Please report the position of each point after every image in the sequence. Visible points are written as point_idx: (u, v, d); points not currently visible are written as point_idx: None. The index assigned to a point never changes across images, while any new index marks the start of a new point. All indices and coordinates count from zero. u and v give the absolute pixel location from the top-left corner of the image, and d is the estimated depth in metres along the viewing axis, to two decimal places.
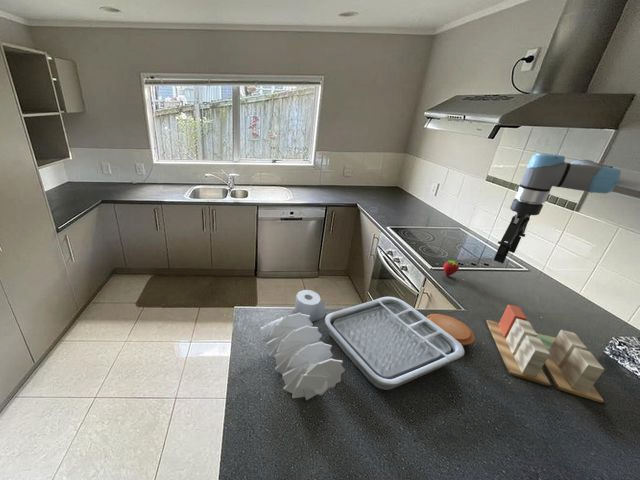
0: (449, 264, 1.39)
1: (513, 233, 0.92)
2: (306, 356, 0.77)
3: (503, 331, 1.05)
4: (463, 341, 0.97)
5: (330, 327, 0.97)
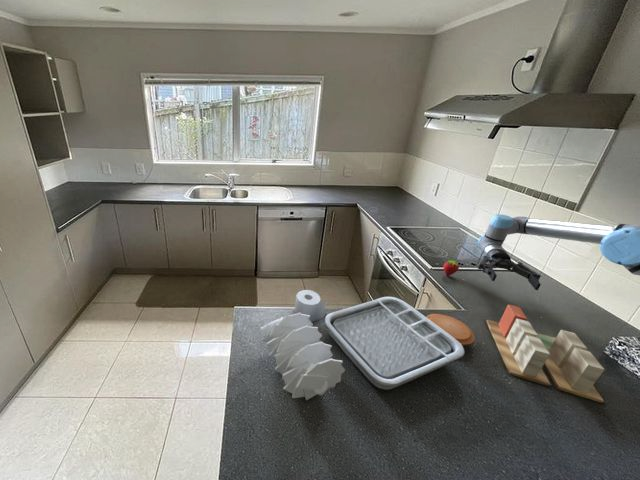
0: (449, 264, 1.39)
1: (481, 260, 1.20)
2: (306, 356, 0.77)
3: (503, 331, 1.05)
4: (463, 341, 0.97)
5: (330, 327, 0.97)
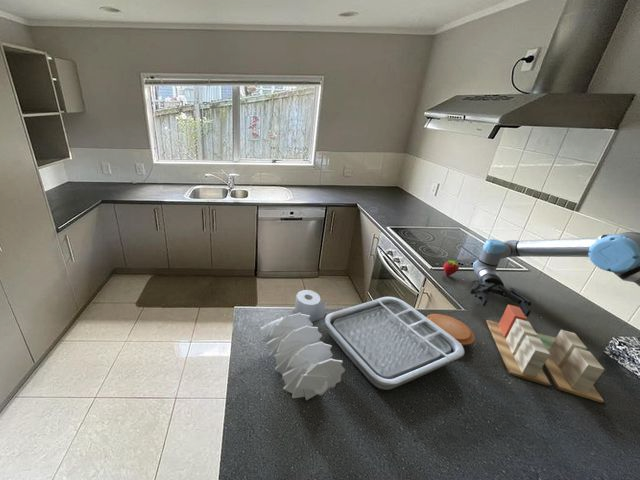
0: (449, 264, 1.39)
1: (474, 285, 1.22)
2: (306, 356, 0.77)
3: (503, 331, 1.05)
4: (463, 341, 0.97)
5: (330, 327, 0.97)
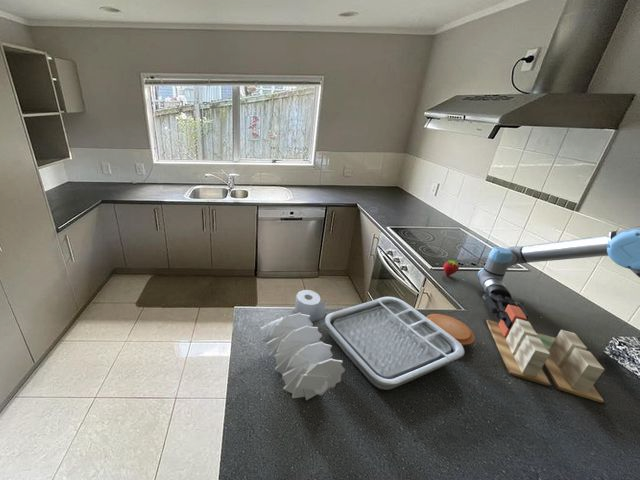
0: (449, 264, 1.39)
1: (489, 302, 1.11)
2: (306, 356, 0.77)
3: (503, 331, 1.05)
4: (463, 341, 0.97)
5: (330, 327, 0.97)
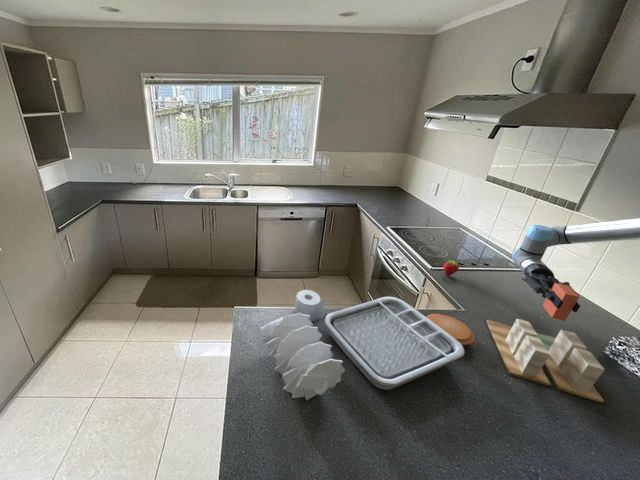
0: (449, 264, 1.39)
1: (532, 281, 1.03)
2: (306, 356, 0.77)
3: (550, 312, 0.96)
4: (463, 341, 0.97)
5: (330, 327, 0.97)
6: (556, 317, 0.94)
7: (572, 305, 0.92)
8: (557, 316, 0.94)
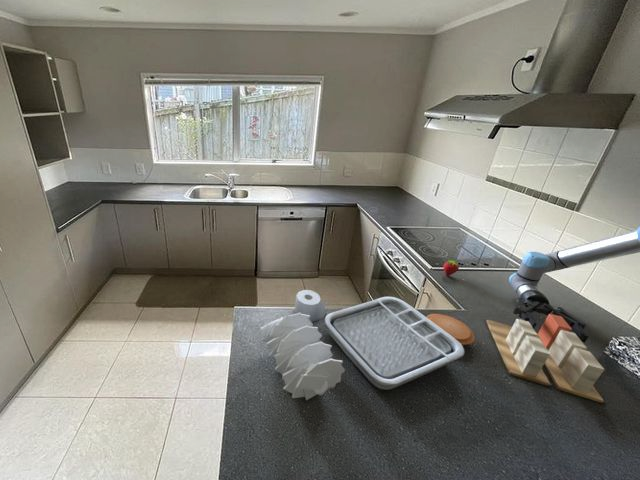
0: (449, 264, 1.39)
1: (517, 304, 1.10)
2: (306, 356, 0.77)
3: (544, 342, 1.00)
4: (463, 341, 0.97)
5: (330, 327, 0.97)
6: None
7: None
8: None
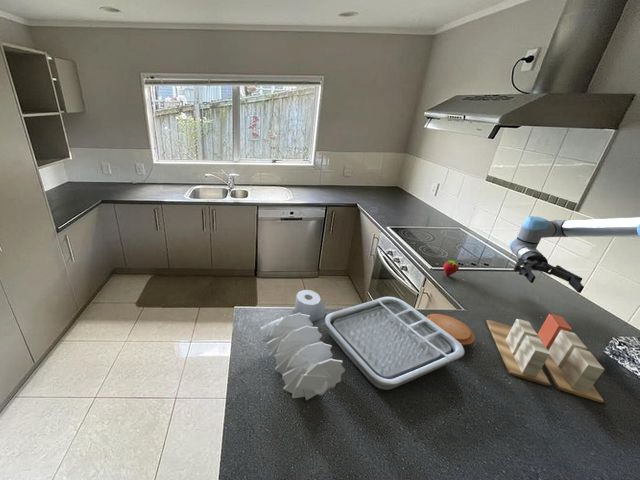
0: (449, 264, 1.39)
1: (517, 262, 1.16)
2: (306, 356, 0.77)
3: (544, 342, 1.00)
4: (463, 341, 0.97)
5: (330, 327, 0.97)
6: None
7: None
8: None
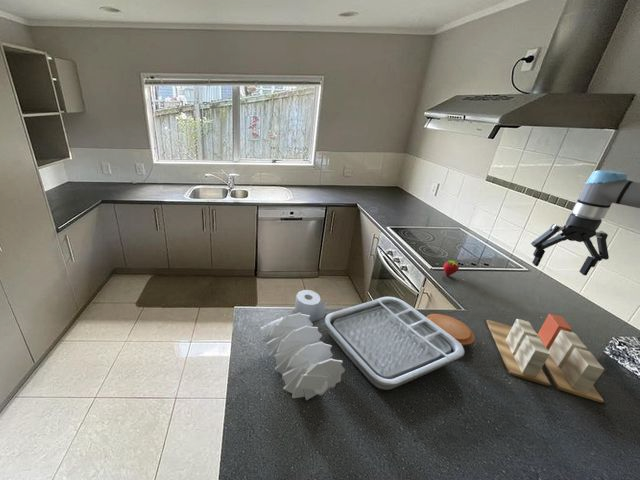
0: (449, 264, 1.39)
1: (544, 237, 1.02)
2: (306, 356, 0.77)
3: (544, 342, 1.00)
4: (463, 341, 0.97)
5: (330, 327, 0.97)
6: None
7: None
8: None
